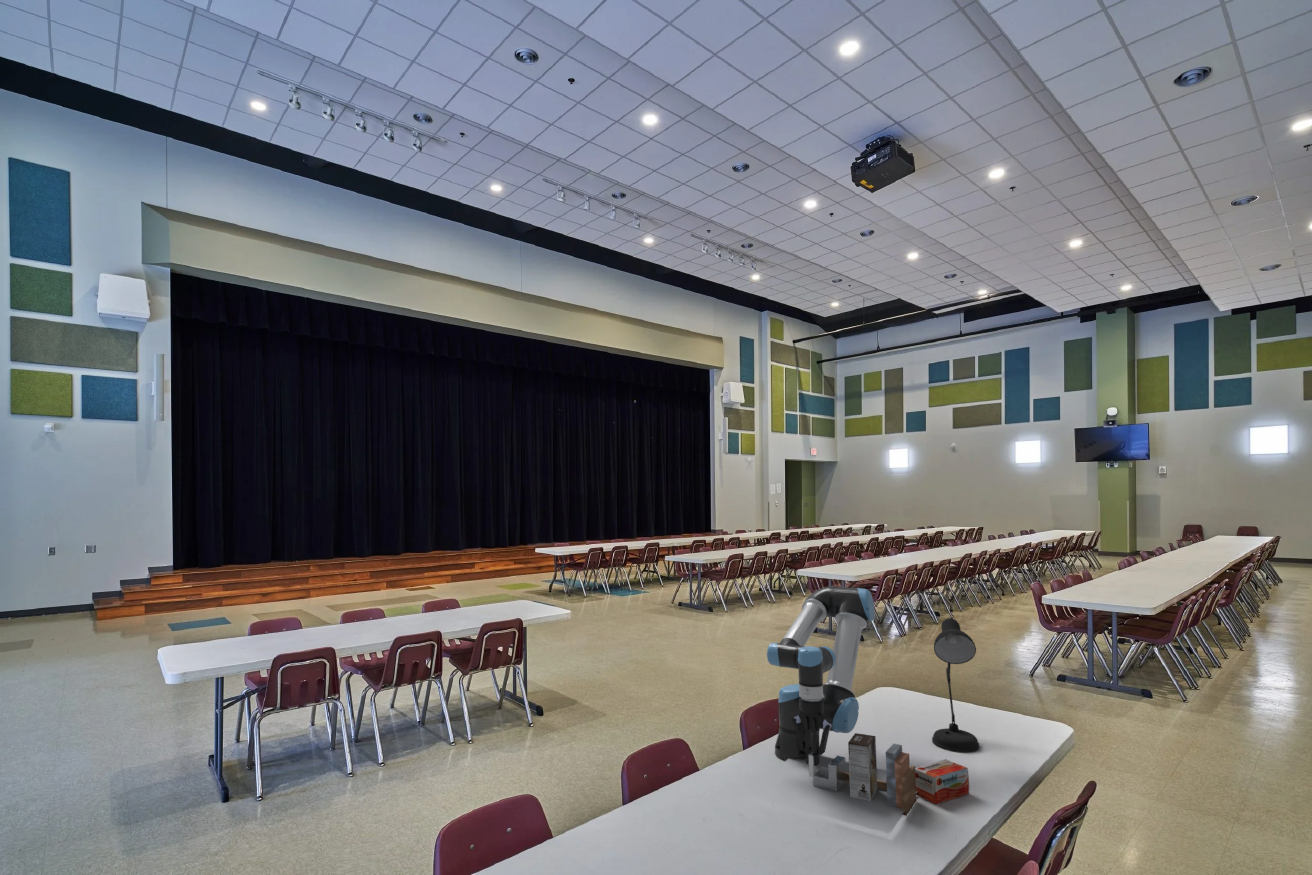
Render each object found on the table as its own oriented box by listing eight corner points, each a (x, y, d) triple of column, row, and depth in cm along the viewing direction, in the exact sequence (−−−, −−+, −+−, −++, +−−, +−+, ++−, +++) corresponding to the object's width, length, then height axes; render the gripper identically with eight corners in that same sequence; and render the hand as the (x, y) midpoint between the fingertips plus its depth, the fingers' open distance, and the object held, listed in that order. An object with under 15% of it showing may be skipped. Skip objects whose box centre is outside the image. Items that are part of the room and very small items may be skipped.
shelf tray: (809, 790, 204) (807, 736, 206) (822, 777, 213) (820, 726, 215) (906, 815, 188) (904, 757, 189) (916, 800, 197) (914, 745, 198)
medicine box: (947, 784, 208) (946, 757, 209) (970, 794, 201) (968, 767, 202) (913, 794, 201) (912, 767, 202) (936, 805, 194) (935, 777, 194)
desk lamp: (960, 763, 223) (954, 627, 227) (902, 738, 247) (897, 615, 251) (1010, 751, 234) (1003, 621, 237) (950, 728, 257) (944, 610, 261)
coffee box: (856, 785, 205) (854, 731, 206) (878, 790, 202) (876, 735, 203) (849, 797, 197) (847, 741, 198) (871, 802, 194) (869, 745, 195)
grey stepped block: (813, 785, 205) (812, 760, 205) (822, 776, 211) (822, 751, 212) (837, 791, 200) (836, 765, 201) (846, 782, 207) (845, 757, 207)
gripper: (787, 697, 212) (788, 774, 209) (826, 704, 204) (828, 784, 202) (797, 691, 218) (798, 766, 215) (835, 698, 210) (837, 776, 208)
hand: (813, 775), depth 208 cm, fingers closed
